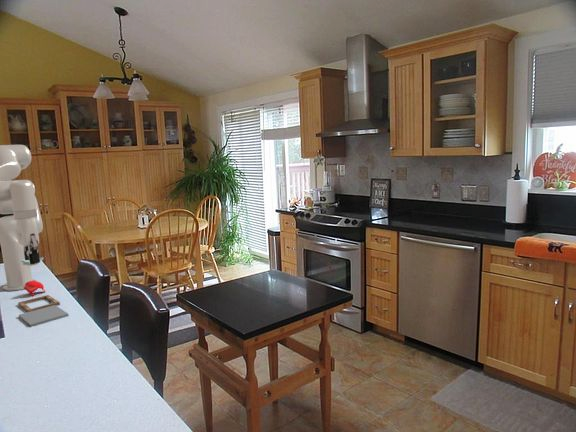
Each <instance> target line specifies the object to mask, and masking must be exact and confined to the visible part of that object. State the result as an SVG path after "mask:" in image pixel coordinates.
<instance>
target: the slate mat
mask: <svg viewBox="0 0 576 432" xmlns="http://www.w3.org/2000/svg"><path fill="white" fill-rule="evenodd" d="M18 317H19V318H20V319H21V320H22V321H23V322H25V323H26V324H27V325H28V326H29V327H30V328H32V327H35V326H39V325H42V324H45V323H48V322H52V321H56V320H59V319H63V318H66V317H69V313H68V312H67V311H65V310H63V309H62V308H60V307H59V306H58V305H57V306H56V305H53V306H49V307H46V308H42V309H38V310H35V311H31V312H27V311H26V312H24V313H20V314H18Z"/></svg>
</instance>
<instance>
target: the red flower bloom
mask: <svg viewBox="0 0 576 432" xmlns="http://www.w3.org/2000/svg"><path fill="white" fill-rule="evenodd" d="M44 288H45V287H44V284H43V283H41V282H40V281H38V280H36V281H29V282H27V283H26V284H25V286H24V289H23V290H25V291H26V292H27V293H28V294H29V295H31V296H32V297H35V294H34V292H36V291H37V290H38V289H41V290H42V291H43V292H45V293H46V291H45V289H44Z"/></svg>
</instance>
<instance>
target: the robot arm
mask: <svg viewBox="0 0 576 432" xmlns="http://www.w3.org/2000/svg"><path fill="white" fill-rule="evenodd" d="M31 162H32V153H31V151H30V149H29V147H28V146H26V145H24V144H2V145H1V144H0V215H5V216H2V217H0V248H1V249H0V250H1V254H2V255H1V256H2V261H3V266H4V273H5V274H4V275H5V281H6V284H5V285H3V287H2V289H3V290H4V291H7V292H8V291H9V292H11V291H21V290H25V289H24V286H25V284H26V283H27V282H29V281H37V280H35V279H33V275H32V269H31V266H28V265H23V262H21V260H30V264H35V263H39V262H40V259H39V258H40V253H39V246H38V245H39V244H40V236H39V234H40V233H42V231H43V229H44V225H43V220H42V215H41V212H40V207H39V203H38V199H37V197H36V195H35V194H36V188H35V184H34V183H33V182H32V181H31V180H29V179H16V178H18V177H19V176H20V174H21V172H22V170H25V169H27V168H28V166H29V165H30V164H31ZM14 179H16V180H14ZM10 214H11V215H10ZM12 214H13V215H12ZM28 250H29V253H30V254H29V256H28V255H27V251H28ZM40 263H41V262H40Z"/></svg>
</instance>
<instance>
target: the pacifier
mask: <svg viewBox="0 0 576 432" xmlns="http://www.w3.org/2000/svg"><path fill="white" fill-rule="evenodd" d="M29 254H30V253H29V250H28V251H27V255H28V256H29ZM39 259H40V262H39V263H42V262H43V260H44V256H41V257H39ZM21 262H23V265H28V266H30V267H32V266H36V265H39V263H35V264H30V260H21Z"/></svg>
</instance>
